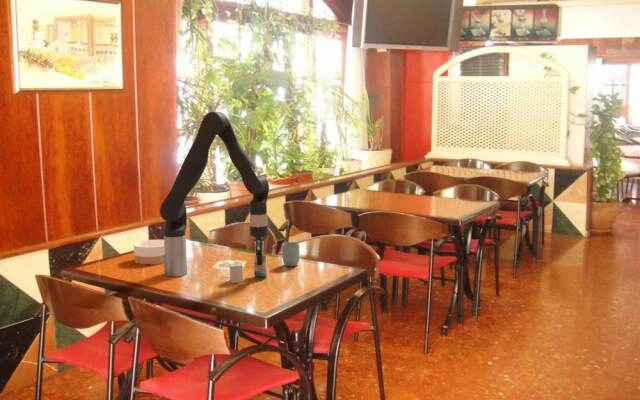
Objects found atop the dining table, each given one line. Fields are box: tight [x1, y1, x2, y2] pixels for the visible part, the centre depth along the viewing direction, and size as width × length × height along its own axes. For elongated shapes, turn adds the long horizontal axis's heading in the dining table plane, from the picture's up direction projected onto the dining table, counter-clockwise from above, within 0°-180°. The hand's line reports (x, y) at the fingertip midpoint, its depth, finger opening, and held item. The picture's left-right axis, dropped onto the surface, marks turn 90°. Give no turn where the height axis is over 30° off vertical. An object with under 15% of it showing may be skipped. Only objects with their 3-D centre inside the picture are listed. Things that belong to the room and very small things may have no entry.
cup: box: [281, 241, 300, 267], centre depth 316 cm, size 8×8×10 cm
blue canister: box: [253, 254, 268, 278], centre depth 298 cm, size 5×5×8 cm
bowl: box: [133, 239, 165, 265], centre depth 331 cm, size 17×17×8 cm
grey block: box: [229, 262, 244, 284], centre depth 292 cm, size 4×4×7 cm
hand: (259, 264), depth 295 cm, fingers closed
